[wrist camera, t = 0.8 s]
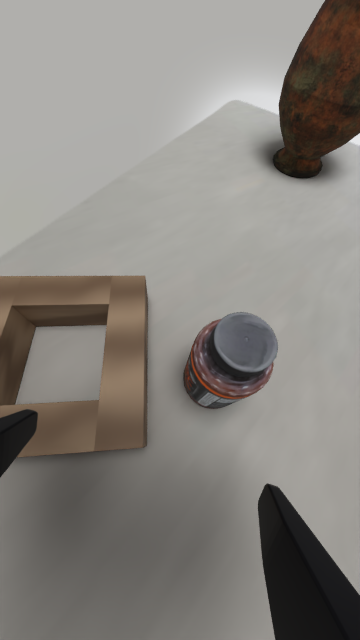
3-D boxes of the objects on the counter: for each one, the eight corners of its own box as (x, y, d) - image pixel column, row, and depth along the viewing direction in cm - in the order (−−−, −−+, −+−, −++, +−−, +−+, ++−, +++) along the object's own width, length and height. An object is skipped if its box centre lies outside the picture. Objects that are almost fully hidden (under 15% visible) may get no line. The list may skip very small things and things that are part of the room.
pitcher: (243, 165, 44) (365, -242, 18) (283, 130, 53) (405, -175, 27) (321, 199, 40) (625, -250, 14) (351, 155, 49) (570, -169, 23)
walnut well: (146, 445, 20) (143, 447, 16) (-44, 459, 18) (-100, 466, 15) (147, 298, 27) (145, 275, 23) (11, 300, 26) (-16, 276, 22)
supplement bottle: (182, 352, 24) (195, 295, 14) (234, 353, 25) (282, 298, 15) (183, 410, 22) (200, 388, 12) (241, 409, 22) (307, 388, 12)
